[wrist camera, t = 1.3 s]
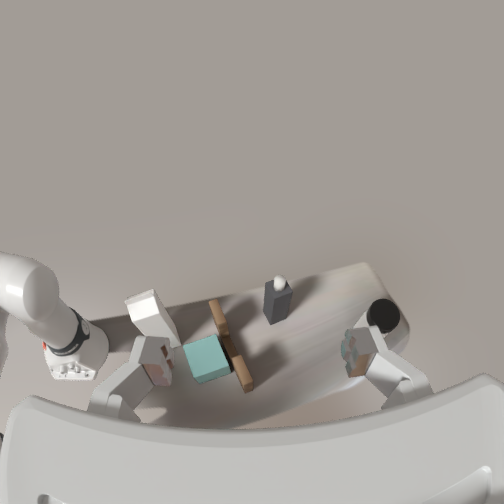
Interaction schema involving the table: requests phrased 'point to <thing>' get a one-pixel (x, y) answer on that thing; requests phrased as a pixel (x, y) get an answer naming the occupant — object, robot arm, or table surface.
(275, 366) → the table surface
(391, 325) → the jar
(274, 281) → the grey capped bottle
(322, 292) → the table surface
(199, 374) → the teal block
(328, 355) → the table surface
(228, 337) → the brown notched panel
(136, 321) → the milk
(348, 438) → the robot arm
